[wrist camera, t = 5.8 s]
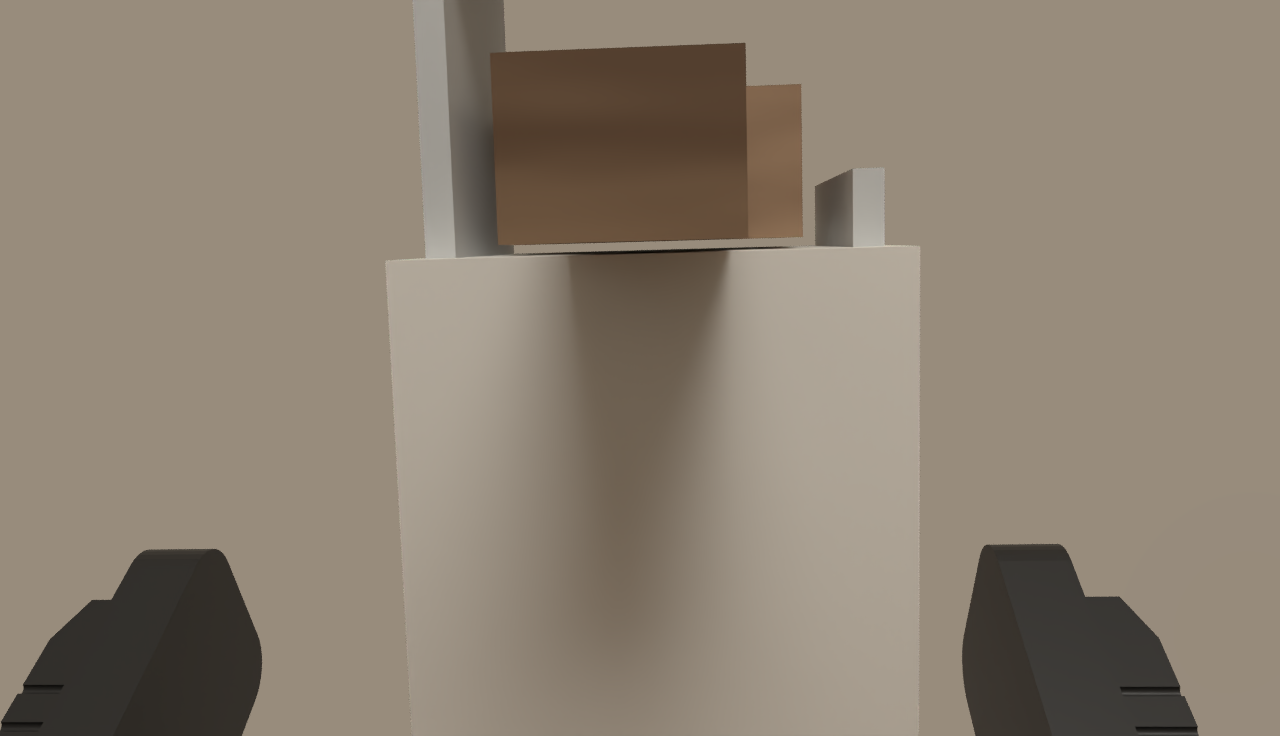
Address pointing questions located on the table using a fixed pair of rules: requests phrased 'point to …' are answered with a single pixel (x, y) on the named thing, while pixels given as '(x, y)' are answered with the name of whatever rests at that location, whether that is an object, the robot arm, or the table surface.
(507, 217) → the wooden plank block
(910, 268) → the stand
